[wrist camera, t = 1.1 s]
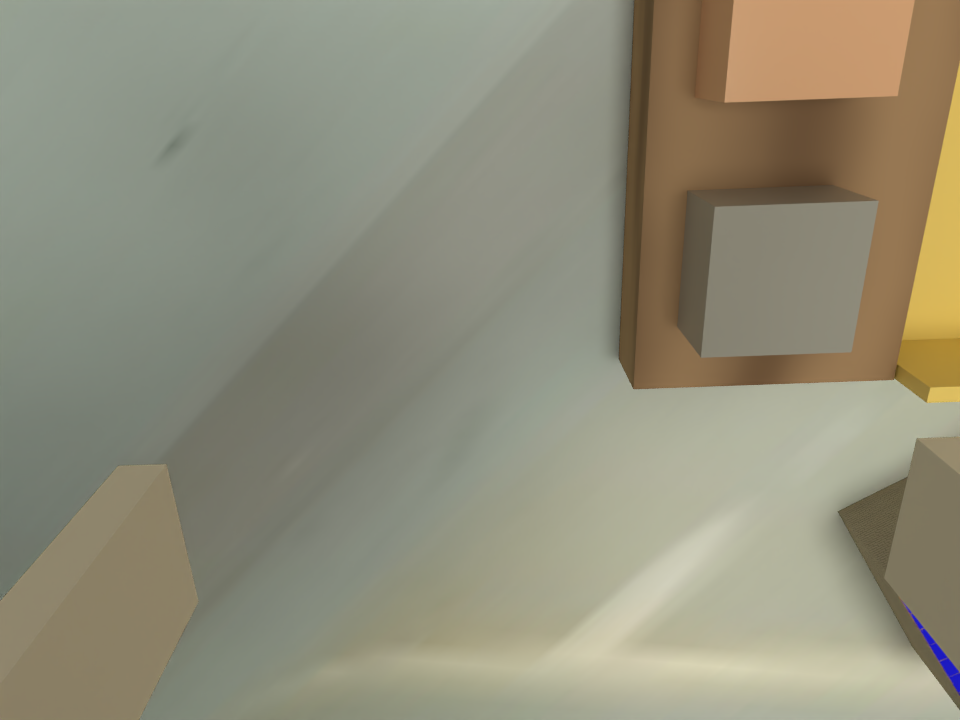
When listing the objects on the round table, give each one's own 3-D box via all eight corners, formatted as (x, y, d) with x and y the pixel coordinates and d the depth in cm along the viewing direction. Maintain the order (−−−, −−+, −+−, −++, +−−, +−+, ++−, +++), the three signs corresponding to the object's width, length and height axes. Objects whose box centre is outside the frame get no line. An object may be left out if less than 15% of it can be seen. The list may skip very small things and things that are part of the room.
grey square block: (676, 326, 26) (701, 357, 24) (687, 190, 25) (714, 206, 22) (812, 321, 26) (851, 352, 24) (832, 185, 25) (878, 200, 22)
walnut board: (618, 359, 30) (633, 389, 27) (640, -150, 23) (663, -178, 20) (855, 350, 30) (893, 379, 27) (948, -162, 23) (1012, -192, 20)
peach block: (694, 97, 23) (724, 102, 21) (708, -80, 21) (742, -100, 19) (847, 92, 23) (898, 95, 21) (874, -86, 21) (934, -108, 19)
